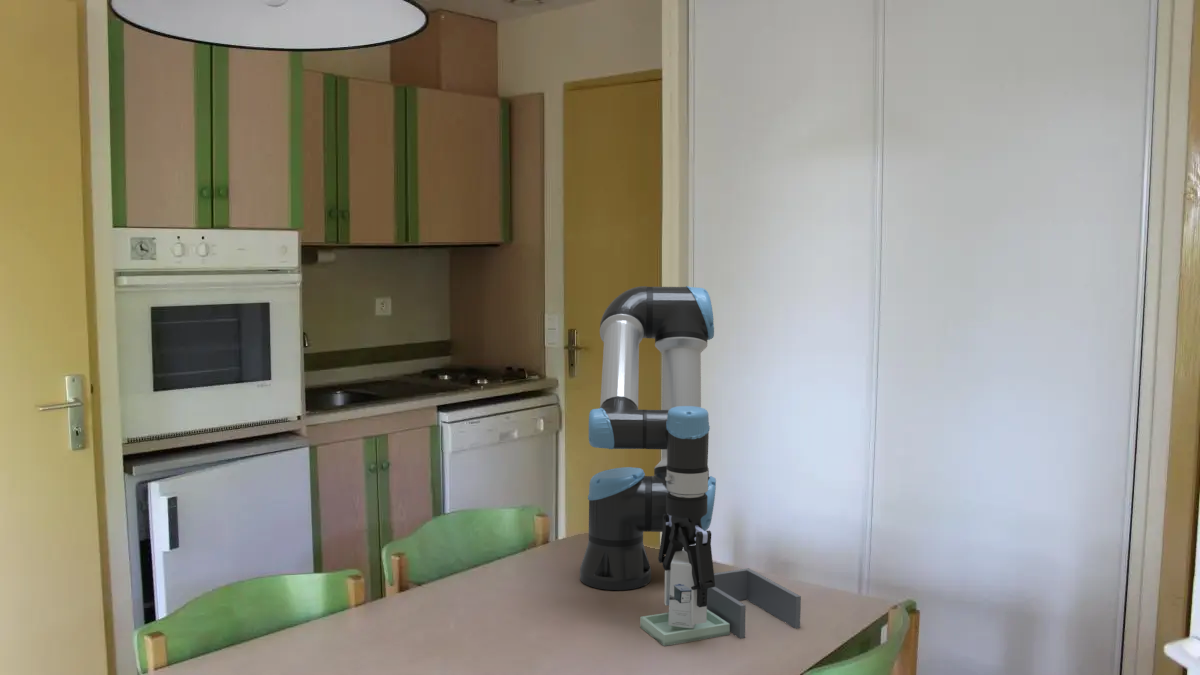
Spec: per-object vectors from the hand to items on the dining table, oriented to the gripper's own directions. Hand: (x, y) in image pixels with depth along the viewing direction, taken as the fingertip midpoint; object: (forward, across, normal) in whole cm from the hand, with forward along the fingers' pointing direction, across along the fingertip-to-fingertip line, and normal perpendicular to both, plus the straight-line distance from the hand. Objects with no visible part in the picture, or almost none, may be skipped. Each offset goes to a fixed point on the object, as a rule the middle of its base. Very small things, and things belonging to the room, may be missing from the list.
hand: (684, 613), depth 174 cm
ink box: (+1, 0, 0) cm, 1 cm away
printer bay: (+3, -1, +14) cm, 14 cm away
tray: (+3, 0, 0) cm, 3 cm away
